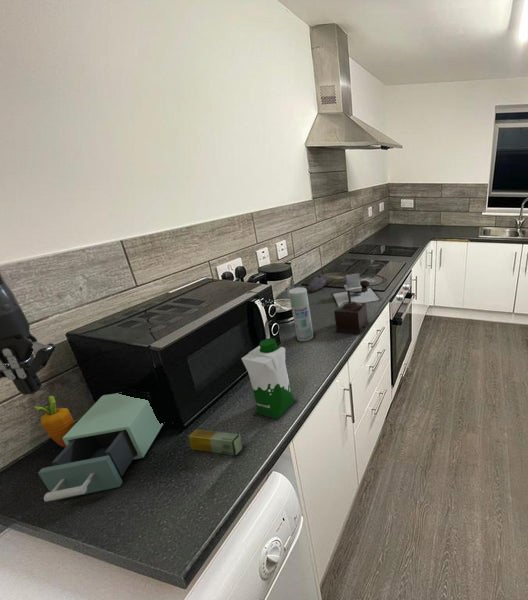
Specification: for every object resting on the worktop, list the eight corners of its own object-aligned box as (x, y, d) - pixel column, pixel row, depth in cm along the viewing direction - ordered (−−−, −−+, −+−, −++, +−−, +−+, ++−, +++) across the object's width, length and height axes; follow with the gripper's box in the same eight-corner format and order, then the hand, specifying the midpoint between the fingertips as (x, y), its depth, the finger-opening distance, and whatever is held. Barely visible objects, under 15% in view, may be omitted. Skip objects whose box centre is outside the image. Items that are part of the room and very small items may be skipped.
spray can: (297, 342, 123) (288, 294, 116) (296, 335, 129) (288, 288, 121) (314, 339, 125) (307, 291, 118) (313, 332, 131) (305, 286, 123)
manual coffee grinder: (361, 334, 128) (357, 292, 121) (335, 332, 130) (330, 290, 123) (373, 317, 142) (370, 279, 135) (350, 315, 144) (346, 278, 137)
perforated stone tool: (313, 294, 170) (311, 282, 168) (304, 293, 172) (303, 281, 170) (328, 285, 183) (327, 273, 180) (321, 284, 185) (319, 273, 182)
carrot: (67, 459, 76) (37, 409, 70) (54, 454, 77) (24, 404, 71) (92, 443, 80) (65, 395, 74) (79, 439, 81) (52, 391, 76)
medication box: (243, 447, 77) (241, 433, 76) (236, 456, 75) (233, 441, 73) (198, 441, 79) (195, 428, 78) (190, 450, 76) (187, 436, 75)
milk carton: (298, 400, 92) (287, 340, 85) (277, 422, 84) (262, 358, 77) (274, 394, 95) (260, 335, 87) (251, 415, 87) (234, 352, 80)
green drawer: (107, 506, 64) (92, 478, 61) (38, 521, 61) (18, 493, 58) (149, 438, 80) (138, 413, 77) (96, 448, 77) (82, 423, 74)
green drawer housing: (143, 457, 75) (128, 426, 72) (80, 470, 73) (61, 438, 69) (168, 415, 88) (157, 386, 85) (116, 424, 86) (102, 395, 82)
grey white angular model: (379, 299, 160) (378, 278, 156) (338, 306, 154) (336, 284, 150) (370, 288, 177) (368, 267, 173) (332, 293, 171) (330, 273, 166)
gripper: (49, 299, 61) (84, 375, 68) (-38, 307, 58) (8, 385, 65) (15, 315, 54) (58, 398, 61) (-85, 325, 52) (-29, 410, 58)
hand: (32, 391), depth 63 cm, fingers closed
